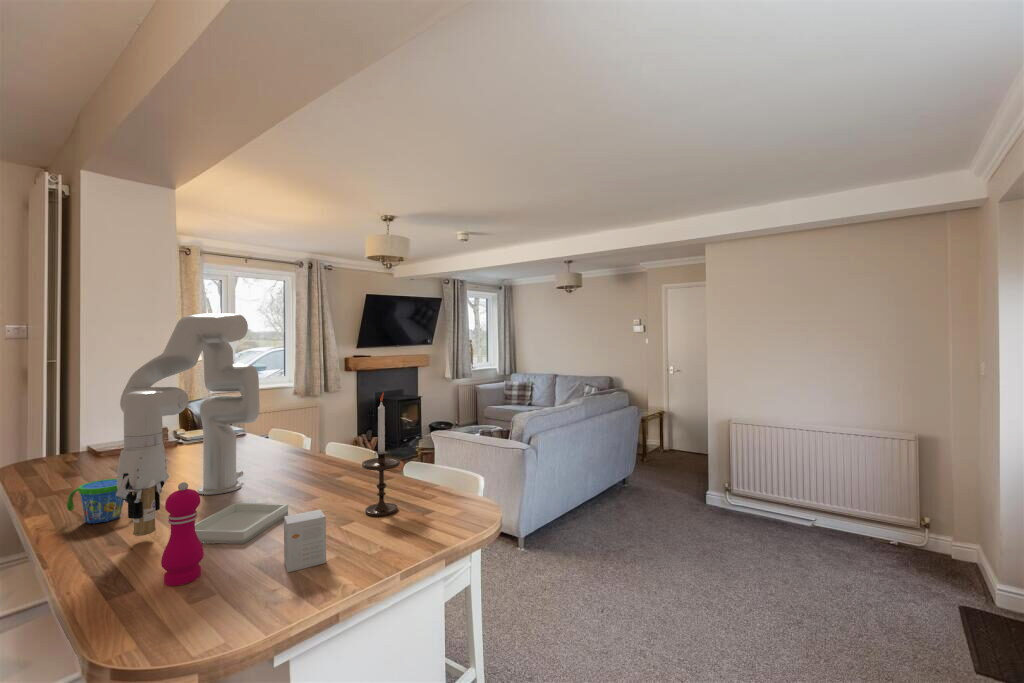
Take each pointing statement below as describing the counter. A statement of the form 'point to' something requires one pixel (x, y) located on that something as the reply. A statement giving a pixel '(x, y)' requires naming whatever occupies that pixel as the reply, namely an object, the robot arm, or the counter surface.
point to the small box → (304, 540)
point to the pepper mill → (182, 538)
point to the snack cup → (98, 501)
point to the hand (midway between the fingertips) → (144, 513)
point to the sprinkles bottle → (146, 511)
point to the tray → (239, 522)
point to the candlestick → (381, 469)
